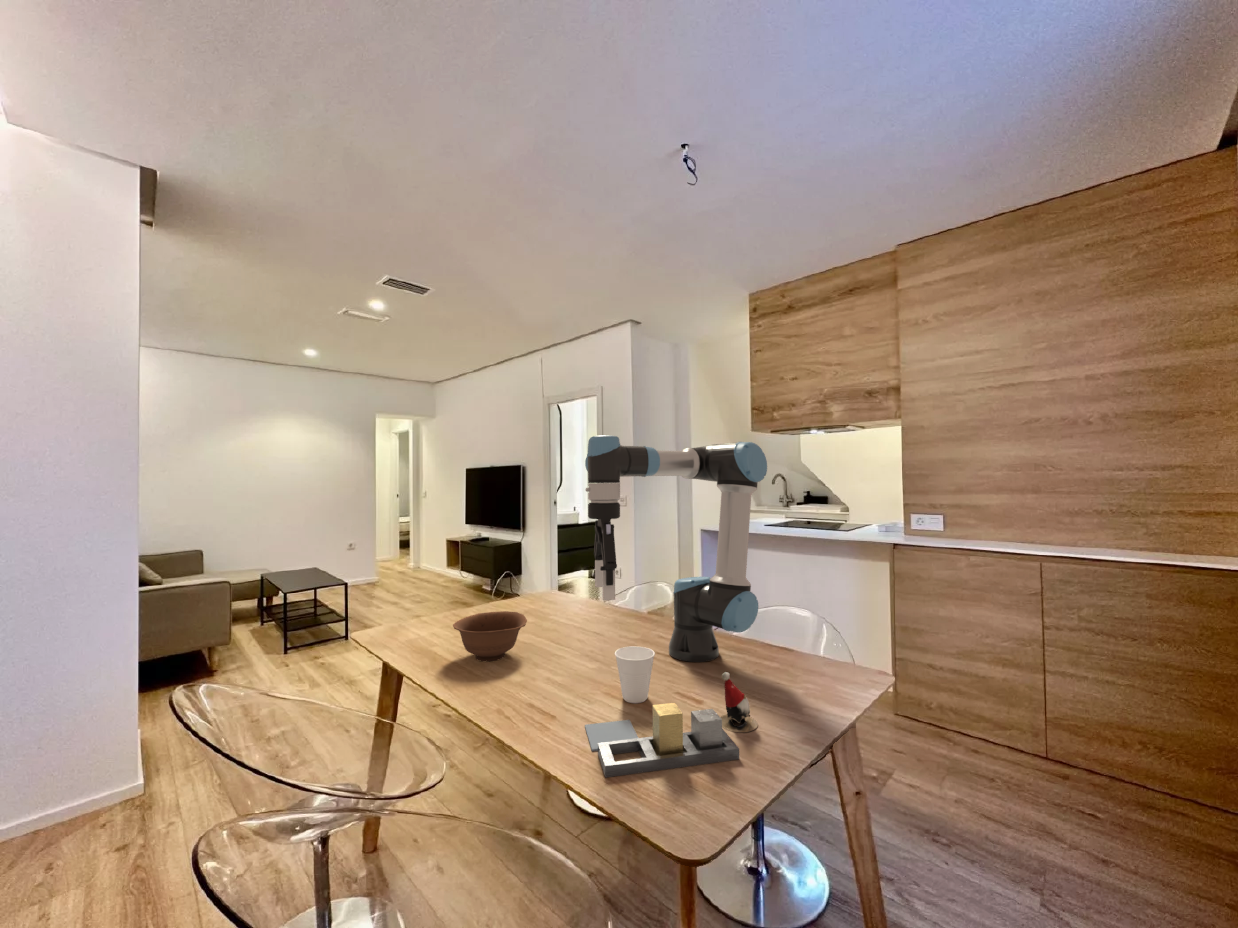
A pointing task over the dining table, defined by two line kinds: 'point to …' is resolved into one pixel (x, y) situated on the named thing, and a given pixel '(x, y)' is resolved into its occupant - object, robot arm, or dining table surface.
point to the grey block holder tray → (661, 762)
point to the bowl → (490, 633)
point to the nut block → (667, 729)
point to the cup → (634, 672)
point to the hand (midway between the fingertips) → (604, 592)
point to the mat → (609, 732)
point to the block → (706, 729)
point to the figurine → (736, 708)
